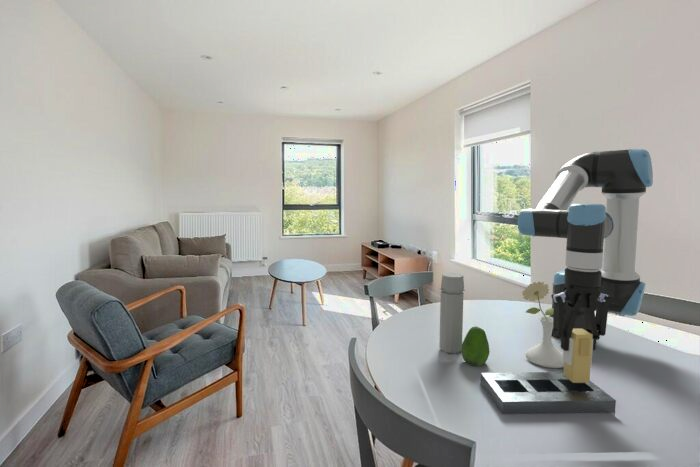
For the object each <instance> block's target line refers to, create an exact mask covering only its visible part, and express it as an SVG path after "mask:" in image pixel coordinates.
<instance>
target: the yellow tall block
mask: <svg viewBox="0 0 700 467" xmlns="http://www.w3.org/2000/svg"><path fill="white" fill-rule="evenodd" d="M592 337H593V334H591V333H589V332H587V331H586V330H584V329H573V330H572V334H571V338H573V339H574V345H573V361H572V365H568V364H567V363H566V362H564V367H563V372H564V374H563V375H564V376H565V377H567V378H568V379H569V380H570V381H571V382H573V383H589V381H591V380H590V379H591V367H592V365H591V352H592Z"/></svg>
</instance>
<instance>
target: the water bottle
mask: <svg viewBox="0 0 700 467" xmlns="http://www.w3.org/2000/svg"><path fill="white" fill-rule="evenodd" d="M464 282H465V280H464V275H463V274H461V273H458V272H457V273H455V272H445V273H443V274H442V276H441V283H440V288H439V290H440V301H439V302H440V303H439V304H440V306H439V310H440V311H439V312H440V314H439V349H440V350H441V351H442V352H444V353H446V354H451V355H453V354H457V353H458V354H459V353H460V352H461V348H462V343H463V330H464V329H463V326H464V325H463V324H464V320H463V318H464V292H465V291H466V290H465V283H464Z"/></svg>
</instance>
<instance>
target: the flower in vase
mask: <svg viewBox="0 0 700 467" xmlns="http://www.w3.org/2000/svg"><path fill="white" fill-rule="evenodd" d="M549 291H550V288H549V284H546V283H545V282H544V281H538V282H536V281H534V282H532V283H529V284H528V285H527V286H526V287H524V290H523V291H522V296H523V299H524V300H526V301H529V302H536V301H537V302H538V307H539V308H538V307H530V308H528V309H527V310H526V311H525V313H527V314H530V315H531V314H532V315H536V314H538V313H539V312H541V313H542V315H543V316H539V317H538V320H540V322H541V325H542V332H543V333H542V334H543V336H542V340H541V342H540V343H538V344H536V345H534V346H532V347H530V348H529V349H528V350H526V352H525V355H524V356H525V358H526V359H527V360H528V361H529V362H531V363H533V364H534V365H537V366H540V367H544V368H549V369H561V368H564V361H563V351H561V350H560V349H559V348H557V347H556V346H555V345H554V344H553V341H552V336H553V335H552V330H553V318H552V317H549V315H552V314H553V312H554V308H552V307H551V308H548V309H546V310H545V311H543V310H542V306H541V303H540V302H541V301H540V300H543V299H544V298H545V297H547V295H548V294H549V293H550V292H549Z"/></svg>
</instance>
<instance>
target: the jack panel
mask: <svg viewBox="0 0 700 467" xmlns="http://www.w3.org/2000/svg"><path fill="white" fill-rule="evenodd" d="M563 374H564V371H540V372H539V371H536V372H535V371H533V372H532V371H531V372H530V371H529V372H528V371H526V372H524V371H523V372H519V371H518V372H517V371H516V372H515V371H514V372H480V385H481V387H482V388H483V390H484V391H485V392H486V394H487V395H488V397H489V398H490V400H492V402H493V404H494V405H495V406H496V408H497V409H498V410H499V412H500V413H501V414H502V415H557V414H558V415H562V414H563V415H567V414H568V415H570V414H571V415H572V414H611V415H613V417H616V416H615V415H616V404H617V400H616V399H615V398H613V397H612V396H611V395H609V394H608V393H607V392H606V391H604V390H603V389H602V388H600V387H599V386H598V385H596V384H595V383H594V382H592V380H590V381H589V383H573V382H571V381H570V380H569V379H568V378H567V377H565V376H564V375H563Z"/></svg>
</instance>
